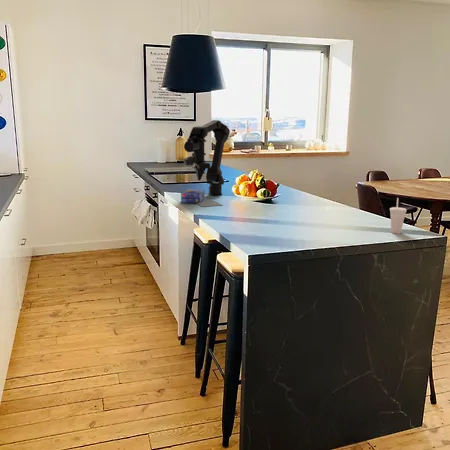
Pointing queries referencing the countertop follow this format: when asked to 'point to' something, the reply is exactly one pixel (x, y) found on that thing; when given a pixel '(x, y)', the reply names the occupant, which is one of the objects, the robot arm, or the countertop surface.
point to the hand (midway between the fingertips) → (199, 180)
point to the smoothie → (397, 218)
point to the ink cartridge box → (192, 196)
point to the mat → (208, 203)
